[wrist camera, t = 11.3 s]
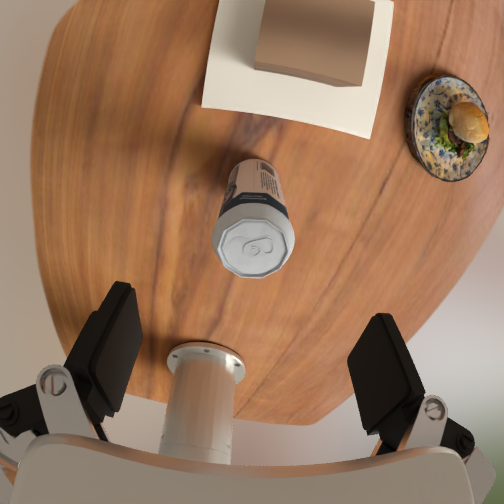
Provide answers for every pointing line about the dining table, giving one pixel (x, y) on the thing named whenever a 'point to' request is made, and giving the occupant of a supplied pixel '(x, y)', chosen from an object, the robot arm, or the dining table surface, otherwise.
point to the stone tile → (287, 87)
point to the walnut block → (316, 40)
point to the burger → (446, 127)
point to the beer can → (253, 222)
